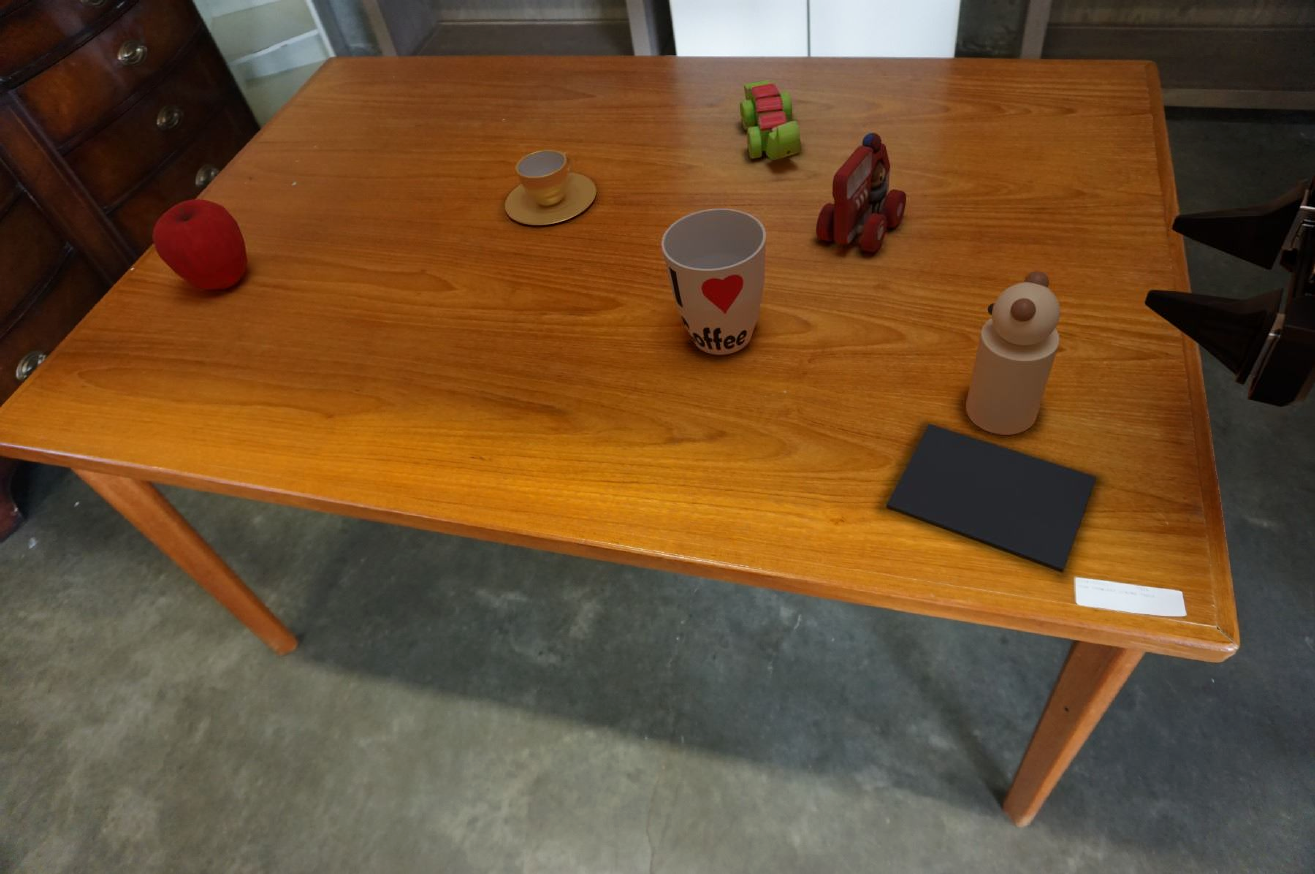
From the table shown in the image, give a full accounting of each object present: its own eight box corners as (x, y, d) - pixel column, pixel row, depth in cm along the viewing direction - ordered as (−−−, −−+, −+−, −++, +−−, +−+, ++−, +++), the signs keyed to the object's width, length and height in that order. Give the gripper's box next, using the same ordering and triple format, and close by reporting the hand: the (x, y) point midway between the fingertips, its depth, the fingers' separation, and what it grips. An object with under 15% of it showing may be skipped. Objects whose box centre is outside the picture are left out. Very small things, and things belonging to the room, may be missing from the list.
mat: (1095, 479, 69) (1096, 476, 68) (1062, 572, 64) (1063, 569, 63) (928, 426, 75) (928, 423, 75) (886, 507, 70) (886, 504, 69)
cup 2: (661, 356, 86) (644, 261, 77) (697, 297, 91) (685, 202, 82) (750, 375, 82) (744, 278, 73) (782, 313, 88) (780, 215, 79)
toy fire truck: (912, 207, 97) (921, 123, 89) (866, 268, 91) (871, 183, 83) (856, 194, 100) (860, 112, 92) (808, 252, 94) (808, 169, 86)
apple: (193, 268, 109) (144, 195, 100) (266, 249, 109) (223, 175, 101) (182, 314, 102) (129, 240, 94) (260, 294, 103) (214, 218, 95)
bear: (956, 422, 75) (980, 300, 64) (977, 379, 78) (1004, 256, 67) (1025, 443, 72) (1062, 320, 62) (1045, 398, 75) (1083, 273, 65)
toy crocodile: (736, 106, 118) (734, 63, 114) (783, 99, 118) (782, 56, 113) (755, 180, 105) (752, 135, 100) (807, 172, 104) (808, 127, 100)
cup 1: (554, 237, 102) (544, 199, 98) (487, 212, 108) (474, 175, 104) (615, 188, 108) (608, 149, 104) (548, 166, 114) (539, 130, 110)
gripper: (1516, 111, 51) (1221, 85, 58) (1520, 293, 41) (1165, 235, 48) (1423, 262, 59) (1174, 222, 66) (1408, 443, 49) (1119, 374, 56)
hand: (1160, 258), depth 59 cm, fingers open, 9 cm apart
